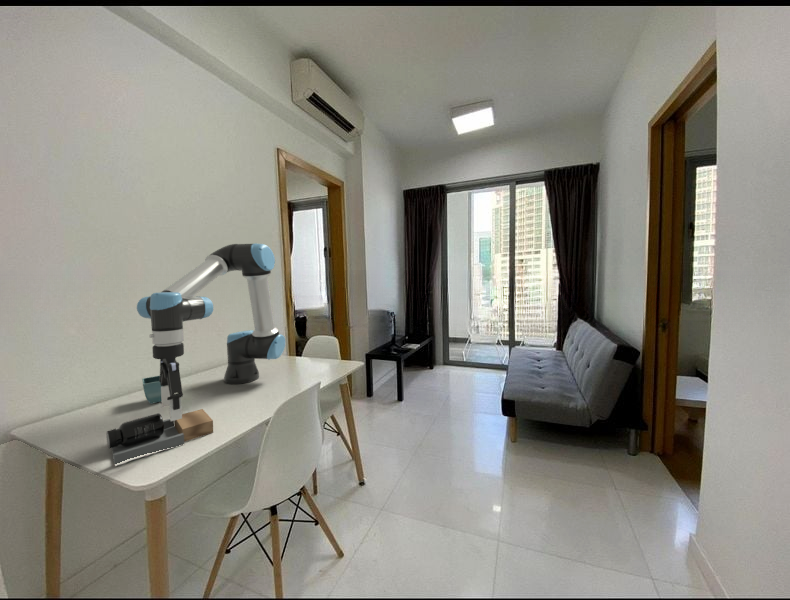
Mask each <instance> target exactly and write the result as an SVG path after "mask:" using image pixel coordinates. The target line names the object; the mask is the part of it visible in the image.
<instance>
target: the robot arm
mask: <svg viewBox="0 0 790 600" xmlns="http://www.w3.org/2000/svg"><path fill="white" fill-rule="evenodd" d="M275 263H276V260H275V253H273V250H272V249H271V248H270V246H268V245H266V244H264V243H257V242H255V243H232V244H228V245H225V246H223V247H221V248H219V249H217V250H215V251H213V252H212V253H210V254H208V255H207V256H206V257H205V259H204V261H203V262H202V263H200V264H199V265H198V266H197V267H195V268H193V269H191V270H190V271H189V272H188V273H186V274H184V275H183V276H182V277H180V278H179V279H177V281H175V282H174V283H173V282H172V284H170V285H169V286H168V287H166V288H165V289H164V290H162V291H160V292H153V293H151V295H149V296H144V297H142V298H140V299H139V300H138V302H137V304H136V310H137V313H138V315H139V316H140V317H142V318H144V319H149V320H150V322H151V334H149V338H151V339H152V340H151V341H152V344H153V346H152V357H153V359H155V360H159V376H160V380H159V382H160V385H161V386H162V387H161V400H162V401H161V408H165V407H169V419H170V421H174V420H178V419H182V414H183V411H182V410H183V409H182V398H183V396H184V393H183V388H182V387H183V386H182V381H181V374H180V373H181V371H180V363H179V362H178V361H177V360H176V358H177V357H182V356H184V353H185V348H184V347H185V344H184V343H183V341H184V323H183V322H188V321H194V320H203V319H206V318H209V317H210V316H211V315H212V314H213V312H214V304H213V301H212V300H211V299H210V298H209V297H206V296H198V295H197V294H198V293H199V292H201V291H202V290H203V289H204V288H205V287H207V286H208V285H209V284H210V283H212V282H213V281H214V280H215V279H217V278H218V277H220V276H224V275H226V274H227V273H229V272H233V271H241V273H242V277H243V278H245V280H246V282H247V287H248V293H249V294H248V295H249V301H250V307H251V314H252V319H253V324H254V330H253V329H250V330H242V331H237V332H232V333H229V334H228V336H227V337H226V351H227V352H226V353H227V355H226V356H227V366H226V370H225V372H224V373H225V374H224V376H223V382H224V383H225V384H228V385H229V384H231V385H236V384H237V385H241V384H246V383H250V382H254V381H256V380H258V379H259V378H260V371H259V369H258V367H257V364H256V361H255V360H256V359H258V360H268V361H269V360H277V359H279V358H280V357H281V356H282V355H283V353H284V350H285V348H286V337H285V336H284V335H283V334H280V331H279V328H278V327H276V325H275V318H274V313H273V305H272V297H271V292H270V291H271V290H270V282H269V276H270V275H271V274H272V272H271V271H272V270H273V269H274V268H275ZM196 295H197V296H196Z"/></svg>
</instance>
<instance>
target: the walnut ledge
mask: <svg viewBox="0 0 790 600" xmlns="http://www.w3.org/2000/svg"><path fill="white" fill-rule="evenodd" d="M174 426H175V428H176V430H177V431H178V433H179V434H181V433H183V434H184V443H185V442H188V441H191V440H195V439H197V438H200V437H204V436H206V435H210V434H213V433H214V420H213V419H212V417H211V416H209V414H208V413H207V412H206V411H205V410H204V409H203V408H200V409H197V410H193V411H190V412H186V413H182V419H178V420H174Z"/></svg>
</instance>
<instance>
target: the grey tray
mask: <svg viewBox="0 0 790 600" xmlns="http://www.w3.org/2000/svg"><path fill="white" fill-rule="evenodd" d="M163 423H164V432H163V434H162V435H161V436H158V437H155V438H152V439H149V440H146V441H143V442H140V443H137V444H134V445H131V446H128V447H124V446H122V445H121V444H120V445H118V446H117V447H113V448H111V452H112V458H113V459H114V460H113V459H112V460H113V465H114V464H117V463H120V462H122V461H125V460H127V459H130V458H134V457H137V456H140V455H144V454H147V453H152V452H156V451H159V450H163V449H167V448H171V447H174V448H177V447H176V446H178V447H180V446H179V445H181V446H183V444H184V445H185V442H184V434H183V433H181V434H179V433H178V431H177V430H176V428H175V426H174V421H170V418H167V419H163ZM171 449H172V448H171Z"/></svg>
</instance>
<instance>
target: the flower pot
mask: <svg viewBox="0 0 790 600" xmlns="http://www.w3.org/2000/svg"><path fill="white" fill-rule="evenodd" d="M141 380H142V381H141V382H142V388H143V392H144V397H145V399H146V400H147V402H148V403H149V404H151V405H152V404H155V403H162V400H161V387H162V386H161V385H160V382H159V380H160V375H156V376H149V377H143V378H141Z"/></svg>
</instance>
